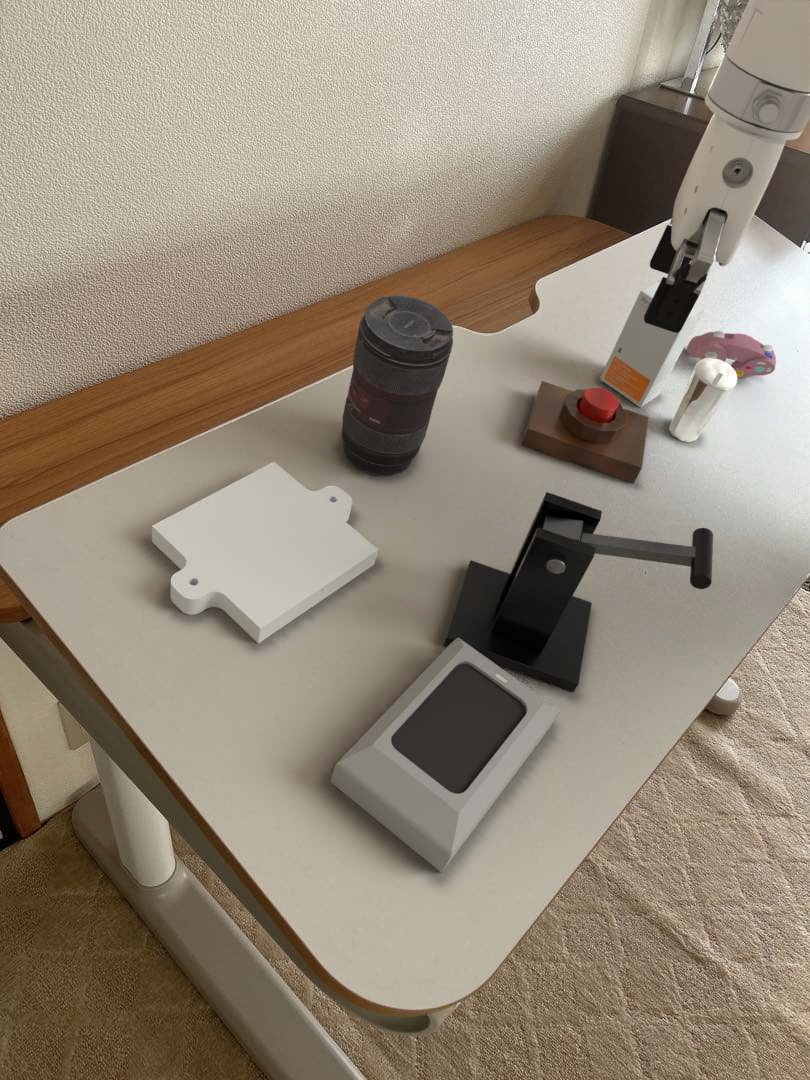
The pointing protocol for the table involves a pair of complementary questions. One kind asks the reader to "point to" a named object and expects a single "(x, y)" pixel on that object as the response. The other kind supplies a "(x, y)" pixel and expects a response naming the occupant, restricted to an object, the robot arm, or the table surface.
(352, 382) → the camera lens
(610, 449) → the button block
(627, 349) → the cosmetic box
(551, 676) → the bracket
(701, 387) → the milkshake
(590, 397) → the button
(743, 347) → the video game controller
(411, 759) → the card reader
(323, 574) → the mounting plate
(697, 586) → the lever
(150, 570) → the table surface
